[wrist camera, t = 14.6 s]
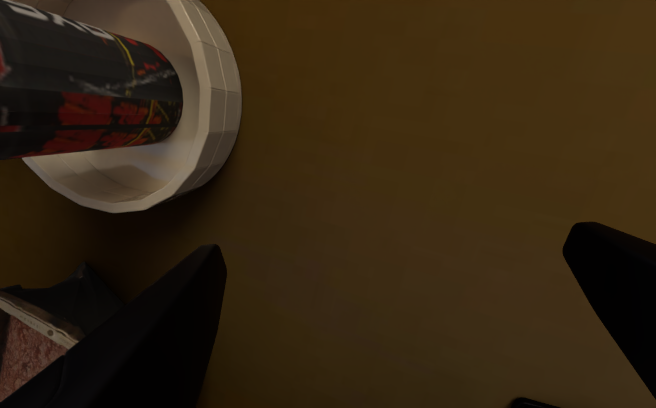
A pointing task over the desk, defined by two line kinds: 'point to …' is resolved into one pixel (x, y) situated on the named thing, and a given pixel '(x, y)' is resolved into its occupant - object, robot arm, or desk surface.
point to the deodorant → (79, 87)
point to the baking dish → (48, 323)
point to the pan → (195, 123)
